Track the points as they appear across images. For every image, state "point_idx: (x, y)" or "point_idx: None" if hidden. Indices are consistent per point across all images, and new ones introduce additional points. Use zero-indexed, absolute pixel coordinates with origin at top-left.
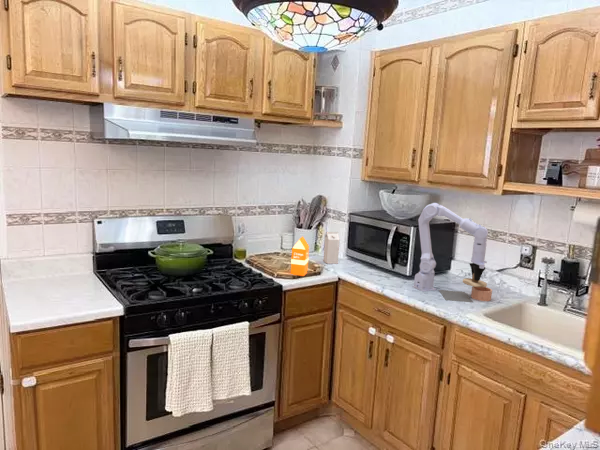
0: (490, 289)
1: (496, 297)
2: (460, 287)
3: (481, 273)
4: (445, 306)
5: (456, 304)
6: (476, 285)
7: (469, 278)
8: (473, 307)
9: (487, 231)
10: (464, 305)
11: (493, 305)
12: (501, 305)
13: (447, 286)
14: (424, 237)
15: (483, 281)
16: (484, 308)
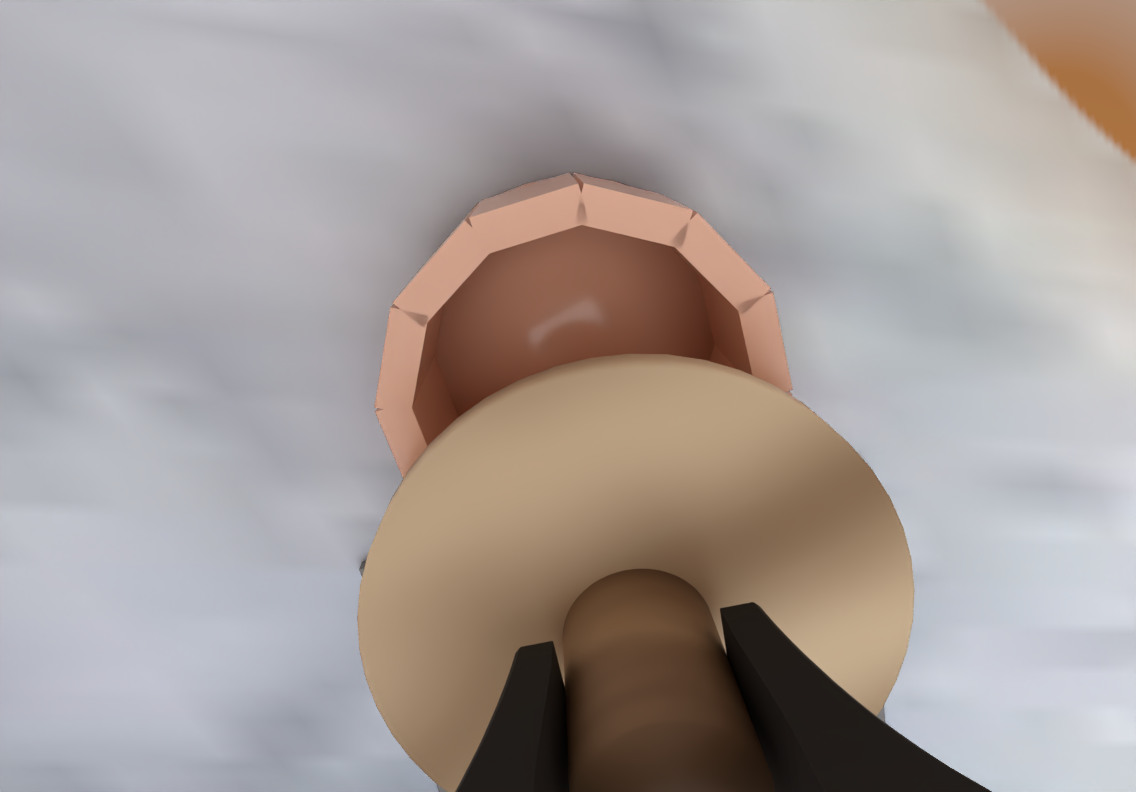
0: (556, 222)
1: (347, 38)
2: (97, 608)
3: (903, 750)
4: (1095, 764)
5: (986, 661)
6: (906, 604)
7: (395, 728)
8: (1059, 471)
9: None
10: (1001, 575)
11: (878, 162)
12: (832, 7)
13: (178, 764)
14: None
15: (456, 435)
16: (1070, 324)
